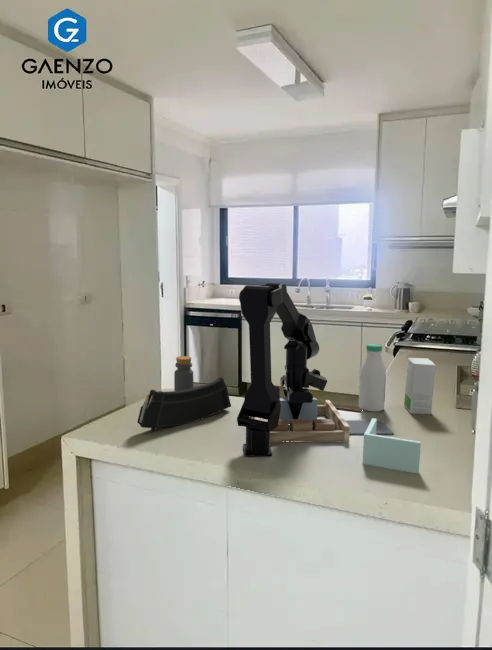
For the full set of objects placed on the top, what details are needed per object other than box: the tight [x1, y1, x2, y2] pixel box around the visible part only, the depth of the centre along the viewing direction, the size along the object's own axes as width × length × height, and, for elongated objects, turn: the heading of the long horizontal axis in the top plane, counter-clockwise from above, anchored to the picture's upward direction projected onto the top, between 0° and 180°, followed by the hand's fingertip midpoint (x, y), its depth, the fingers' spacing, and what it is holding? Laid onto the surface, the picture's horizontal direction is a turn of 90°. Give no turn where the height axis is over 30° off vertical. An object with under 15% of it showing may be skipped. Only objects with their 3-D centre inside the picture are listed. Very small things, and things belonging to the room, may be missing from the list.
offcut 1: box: [272, 419, 289, 431], centre depth 125 cm, size 4×5×4 cm
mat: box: [344, 419, 395, 436], centre depth 132 cm, size 10×13×1 cm
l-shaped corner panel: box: [362, 417, 422, 475], centre depth 112 cm, size 12×12×8 cm
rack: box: [251, 399, 350, 443], centre depth 132 cm, size 22×23×4 cm
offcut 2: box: [288, 419, 312, 431], centre depth 125 cm, size 4×5×4 cm
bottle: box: [173, 355, 194, 391], centre depth 150 cm, size 6×6×15 cm
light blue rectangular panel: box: [279, 397, 319, 424], centre depth 134 cm, size 2×12×7 cm, turn 93°
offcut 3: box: [312, 418, 336, 431], centre depth 125 cm, size 4×5×4 cm
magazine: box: [137, 377, 232, 432], centre depth 136 cm, size 17×3×30 cm
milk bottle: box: [358, 343, 387, 412], centre depth 148 cm, size 8×8×20 cm
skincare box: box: [403, 357, 437, 415], centre depth 147 cm, size 8×7×16 cm
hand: (294, 418), depth 135 cm, fingers closed on light blue rectangular panel, 2 cm apart
